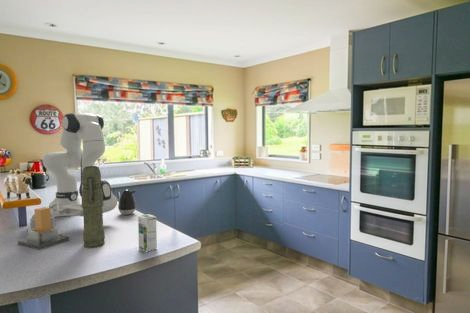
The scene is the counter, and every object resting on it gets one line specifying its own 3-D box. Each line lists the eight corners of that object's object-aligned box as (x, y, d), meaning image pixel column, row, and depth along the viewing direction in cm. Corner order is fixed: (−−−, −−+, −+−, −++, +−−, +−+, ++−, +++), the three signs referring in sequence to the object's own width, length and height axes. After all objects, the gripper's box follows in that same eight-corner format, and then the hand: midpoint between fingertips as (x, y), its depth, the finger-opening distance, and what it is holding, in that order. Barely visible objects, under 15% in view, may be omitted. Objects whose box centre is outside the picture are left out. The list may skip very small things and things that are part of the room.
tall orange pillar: (36, 239, 148) (34, 209, 147) (45, 236, 152) (44, 207, 151) (42, 240, 146) (40, 210, 145) (51, 238, 150) (50, 208, 149)
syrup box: (138, 249, 138) (137, 215, 137) (150, 246, 142) (149, 213, 141) (145, 253, 133) (143, 218, 132) (157, 249, 138) (156, 215, 137)
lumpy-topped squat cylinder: (29, 234, 160) (28, 217, 159) (35, 227, 172) (34, 211, 171) (53, 232, 164) (52, 215, 163) (57, 225, 176) (56, 210, 175)
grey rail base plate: (48, 235, 159) (47, 223, 158) (69, 240, 151) (68, 227, 151) (17, 244, 146) (17, 230, 146) (39, 249, 139) (38, 235, 138)
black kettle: (136, 215, 197) (136, 190, 196) (118, 216, 193) (117, 191, 192) (135, 211, 207) (134, 187, 206) (118, 213, 203) (117, 188, 202)
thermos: (104, 239, 152) (101, 164, 149) (105, 247, 141) (102, 167, 139) (83, 242, 148) (80, 165, 146) (83, 250, 137) (79, 168, 135)
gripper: (76, 200, 174) (51, 205, 162) (102, 203, 165) (78, 209, 153) (76, 211, 175) (51, 217, 163) (102, 216, 165) (78, 222, 153)
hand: (64, 213), depth 157 cm, fingers open, 8 cm apart
